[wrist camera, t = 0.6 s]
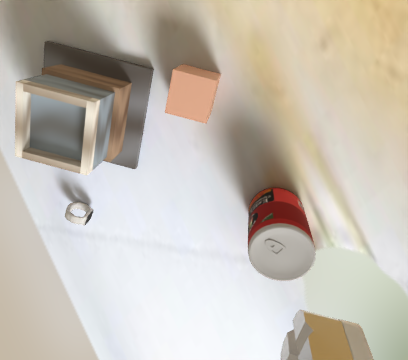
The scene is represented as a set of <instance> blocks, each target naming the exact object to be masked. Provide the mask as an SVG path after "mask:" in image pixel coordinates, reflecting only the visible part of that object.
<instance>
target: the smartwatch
mask: <svg viewBox="0 0 408 360" xmlns="http://www.w3.org/2000/svg"><path fill="white" fill-rule="evenodd" d="M73 209H81V210H84V211H85V212H86V214H85V216H84V217H76V216H74V215H73V214H72V213H71V211H72V210H73ZM92 213H93V209H91V207H90V206H88V205H86V204H85V203H81V202H73V203H70V204H69V205H68V207H67V209H66V213H65V218H66V219H67V220H69V221H70V222H72V223H75V224H82V225H86V223H87V222H88V221H89V220H90V219H91V216H92Z"/></svg>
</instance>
